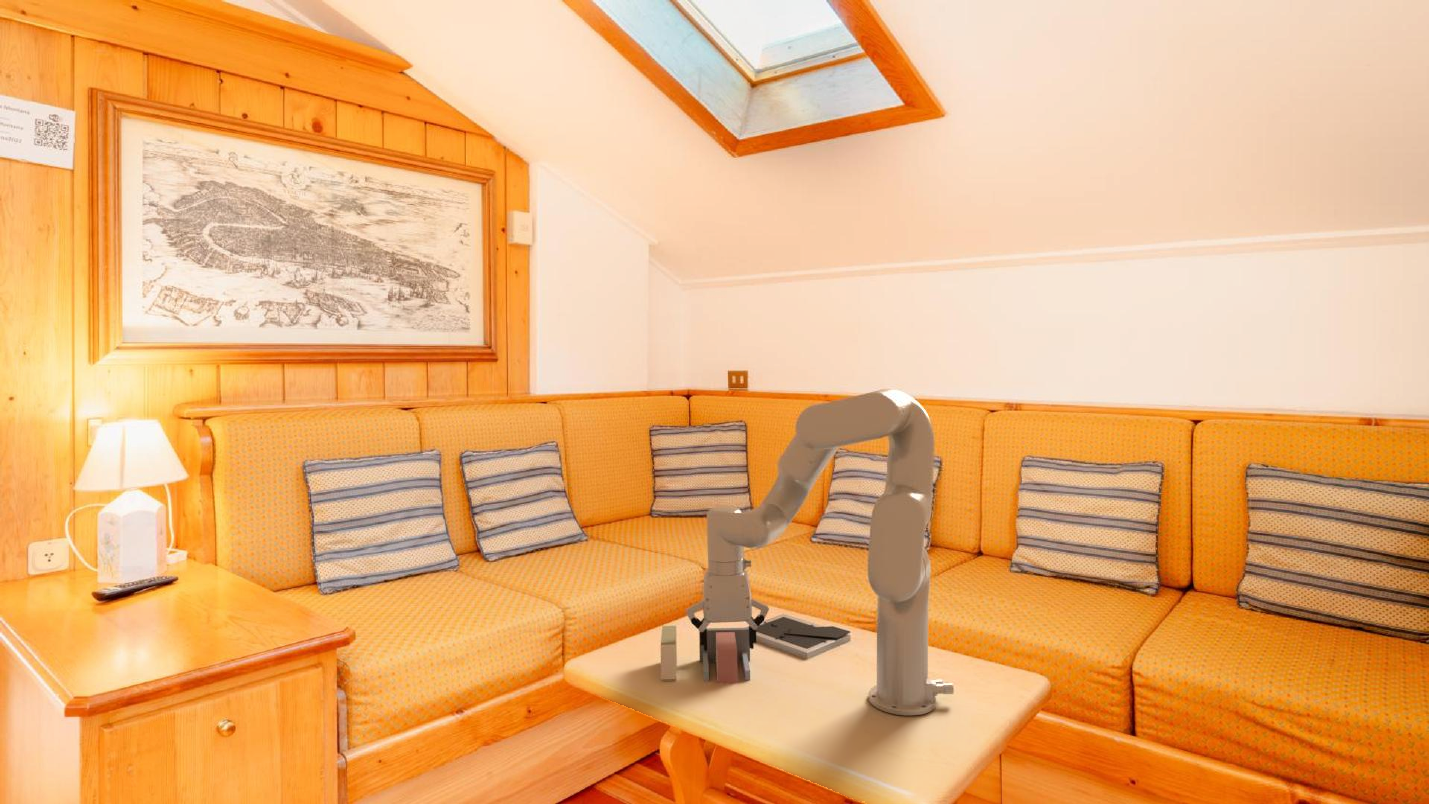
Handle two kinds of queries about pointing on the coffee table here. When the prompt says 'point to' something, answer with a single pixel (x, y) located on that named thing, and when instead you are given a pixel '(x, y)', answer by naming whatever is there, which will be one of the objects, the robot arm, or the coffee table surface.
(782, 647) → the picture frame
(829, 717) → the coffee table surface
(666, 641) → the olive rectangular block
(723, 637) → the reddish pink rectangular block
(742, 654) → the shelf slot
